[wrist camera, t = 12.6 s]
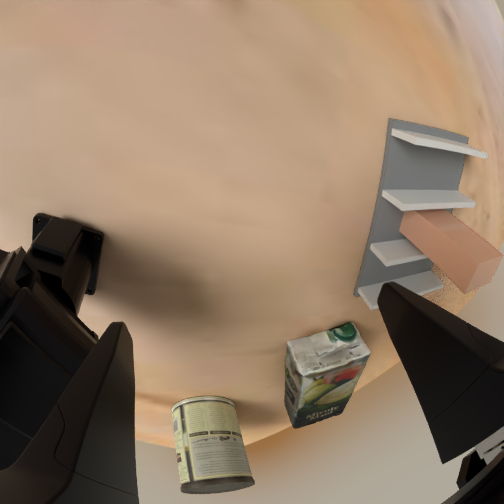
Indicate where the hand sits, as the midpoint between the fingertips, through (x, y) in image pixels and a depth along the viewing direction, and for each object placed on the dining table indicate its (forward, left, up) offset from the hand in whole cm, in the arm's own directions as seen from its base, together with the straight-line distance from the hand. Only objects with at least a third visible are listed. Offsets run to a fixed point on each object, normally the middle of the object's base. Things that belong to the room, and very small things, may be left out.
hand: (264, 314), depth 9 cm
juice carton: (-21, -24, -14) cm, 34 cm away
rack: (+5, -20, -13) cm, 24 cm away
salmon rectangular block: (+5, -20, -12) cm, 24 cm away
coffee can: (-34, -11, -13) cm, 38 cm away
